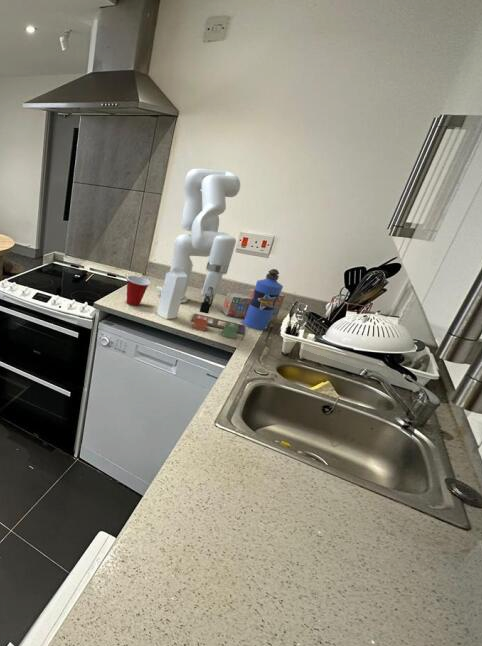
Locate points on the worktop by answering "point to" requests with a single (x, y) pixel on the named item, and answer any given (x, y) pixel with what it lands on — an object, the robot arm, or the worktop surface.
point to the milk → (172, 293)
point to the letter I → (230, 330)
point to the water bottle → (263, 301)
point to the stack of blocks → (246, 304)
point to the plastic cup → (136, 289)
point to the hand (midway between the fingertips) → (205, 309)
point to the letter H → (200, 322)
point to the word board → (219, 323)
